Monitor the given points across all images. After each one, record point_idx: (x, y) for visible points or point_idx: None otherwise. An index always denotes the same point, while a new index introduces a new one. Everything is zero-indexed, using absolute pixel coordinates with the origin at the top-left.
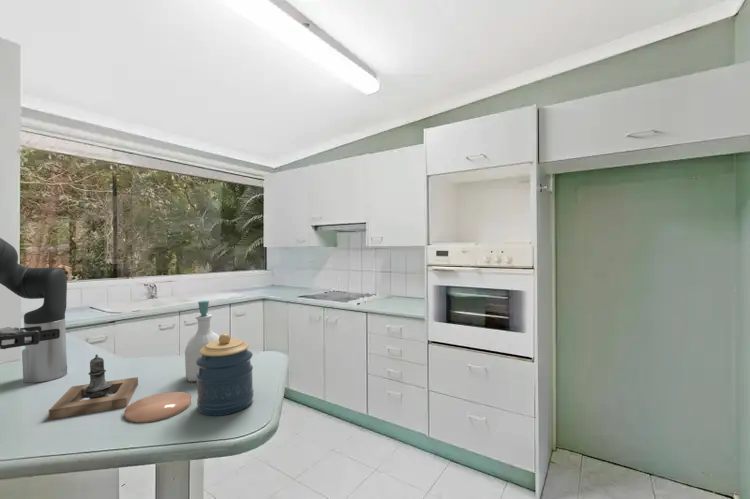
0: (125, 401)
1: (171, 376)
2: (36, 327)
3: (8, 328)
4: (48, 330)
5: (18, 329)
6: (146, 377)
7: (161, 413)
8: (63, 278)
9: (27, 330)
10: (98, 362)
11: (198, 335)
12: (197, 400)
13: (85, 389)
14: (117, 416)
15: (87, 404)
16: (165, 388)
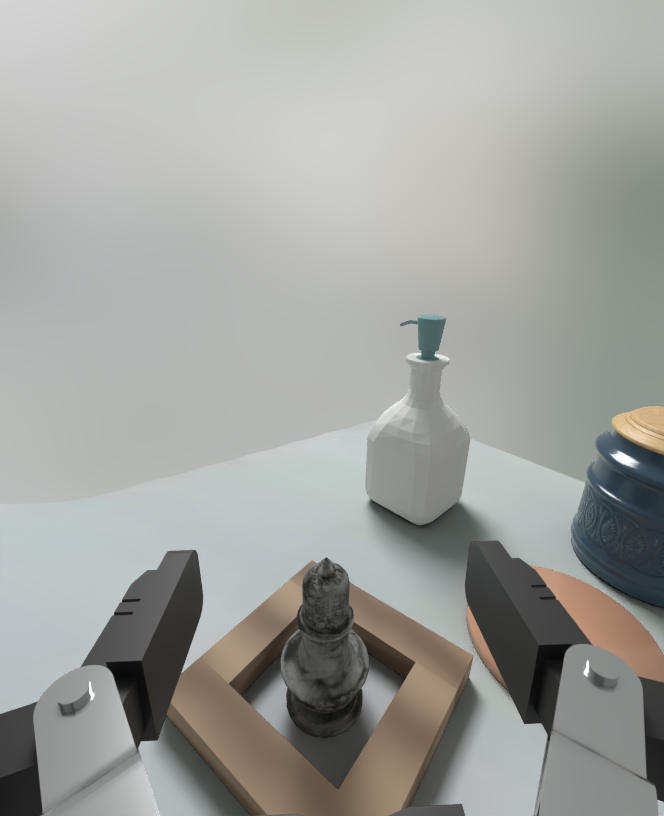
0: (470, 666)
1: (337, 523)
2: (186, 571)
3: (155, 811)
4: (528, 589)
5: (114, 685)
6: (279, 546)
7: (652, 663)
8: None
9: (167, 637)
10: (348, 585)
11: (432, 411)
12: (661, 585)
13: (315, 696)
14: (541, 737)
15: (425, 759)
16: (410, 565)
